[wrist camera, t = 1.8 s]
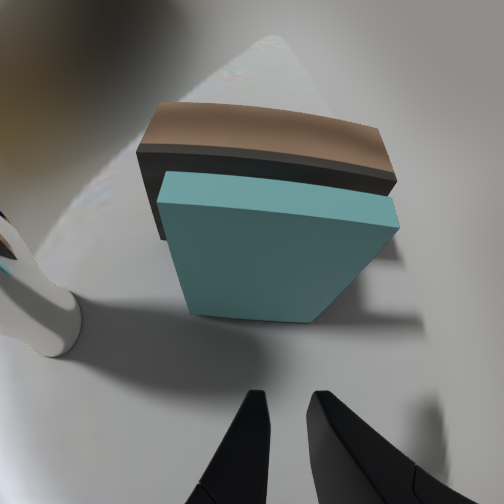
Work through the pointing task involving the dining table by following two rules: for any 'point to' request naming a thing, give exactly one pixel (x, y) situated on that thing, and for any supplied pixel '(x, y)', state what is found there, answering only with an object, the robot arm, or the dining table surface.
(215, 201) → the teal fan slab
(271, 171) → the block
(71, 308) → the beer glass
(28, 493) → the dining table surface
